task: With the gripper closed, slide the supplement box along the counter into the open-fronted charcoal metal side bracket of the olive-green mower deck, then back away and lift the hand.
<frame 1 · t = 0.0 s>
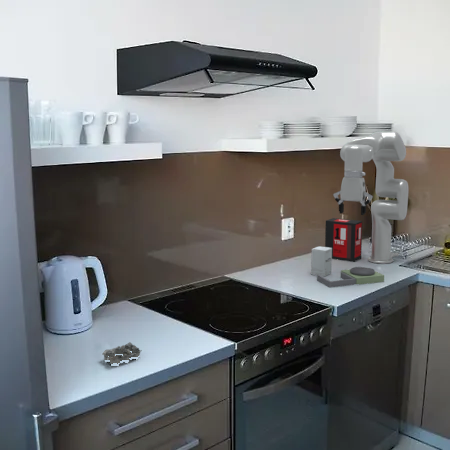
hand: (352, 213, 243), 31 cm above the worktop, tool pointing down, fingers open, 9 cm apart
supplement box: (321, 274, 263), on the worktop
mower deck: (335, 282, 250), on the worktop
grey lumpy cluster: (122, 360, 171), on the worktop
cleaning product box: (342, 258, 293), on the worktop
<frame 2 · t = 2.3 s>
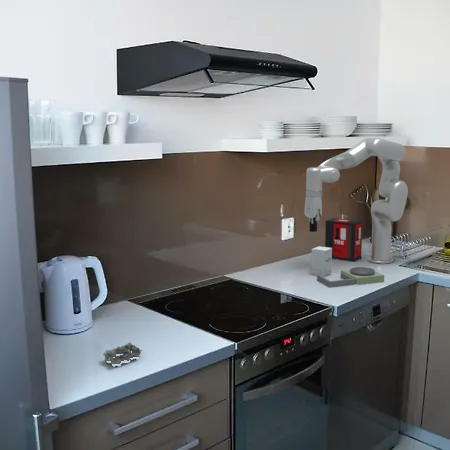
hand: (313, 231, 268), 19 cm above the worktop, tool pointing down, fingers closed
nothing on the worktop moved.
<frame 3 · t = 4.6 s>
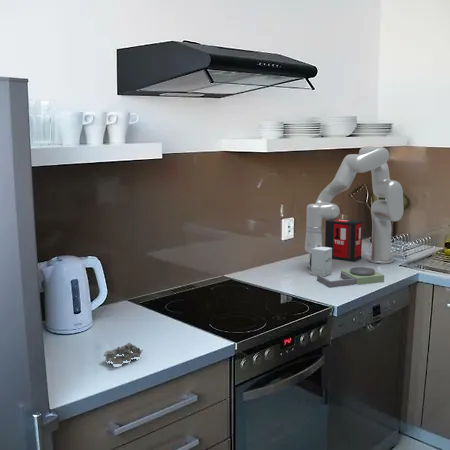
hand: (313, 266, 270), 2 cm above the worktop, tool pointing down, fingers closed
supplement box: (321, 274, 263), on the worktop, touching gripper
everything else where it was.
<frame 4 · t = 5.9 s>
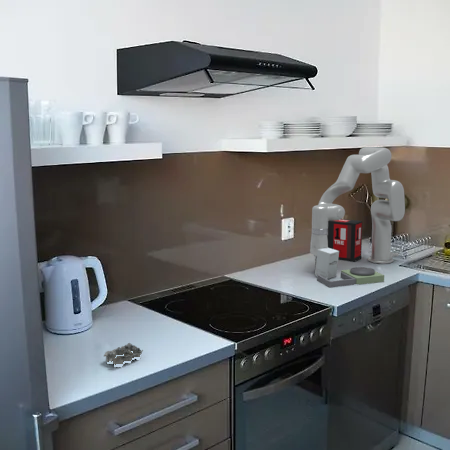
hand: (319, 269, 265), 2 cm above the worktop, tool pointing down, fingers closed
supplement box: (325, 276, 259), on the worktop, touching gripper
everything else where it was.
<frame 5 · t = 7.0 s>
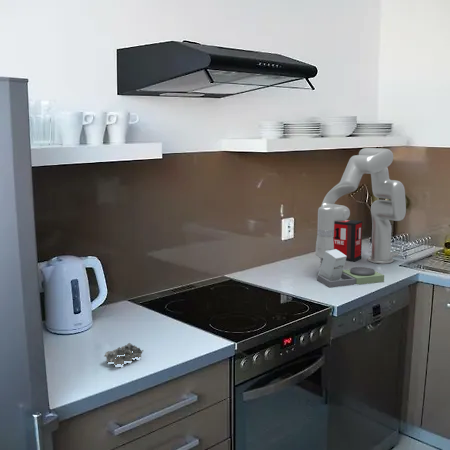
hand: (324, 271, 259), 2 cm above the worktop, tool pointing down, fingers closed
supplement box: (329, 277, 254), point 1 cm above the worktop, touching gripper
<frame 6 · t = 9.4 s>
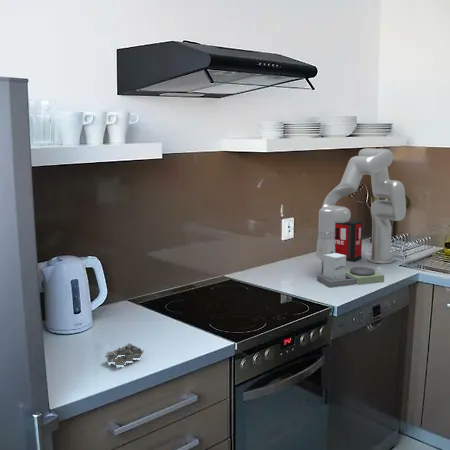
hand: (325, 273, 259), 1 cm above the worktop, tool pointing down, fingers closed
supplement box: (334, 282, 250), on the worktop
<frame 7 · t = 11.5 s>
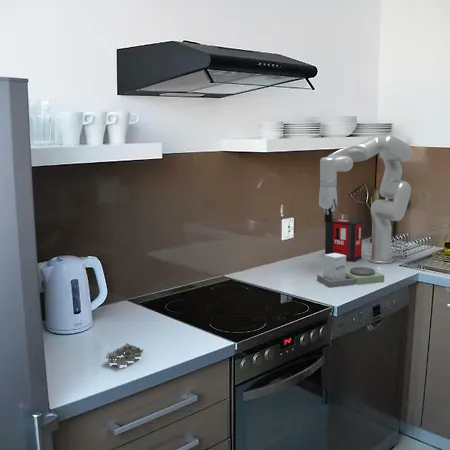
hand: (328, 222, 263), 24 cm above the worktop, tool pointing down, fingers closed
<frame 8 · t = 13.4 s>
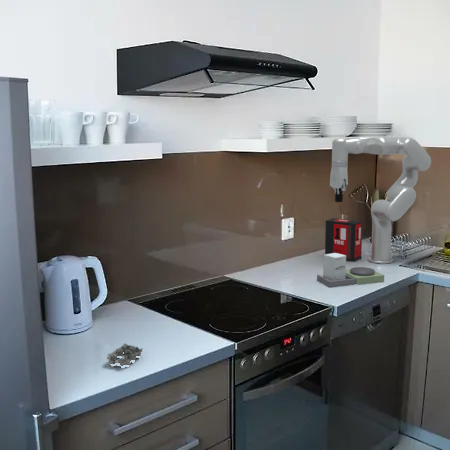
hand: (338, 201, 273), 32 cm above the worktop, tool pointing down, fingers closed
at the end: supplement box inside the target area on the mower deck (0.7 cm from its centre), point 0.0 cm above the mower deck's base; supplement box tilted 0°; supplement box moved 13.9 cm from its start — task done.
